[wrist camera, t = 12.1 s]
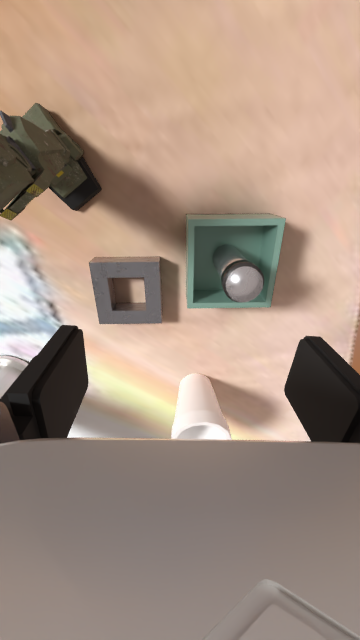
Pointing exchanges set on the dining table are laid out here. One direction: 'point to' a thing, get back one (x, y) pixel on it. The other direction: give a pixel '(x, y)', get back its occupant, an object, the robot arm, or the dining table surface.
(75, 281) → the dining table surface
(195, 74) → the dining table surface
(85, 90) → the dining table surface
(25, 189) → the mechanical leg
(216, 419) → the foam cup
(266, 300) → the bin
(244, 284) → the metal peg
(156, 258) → the socket block
